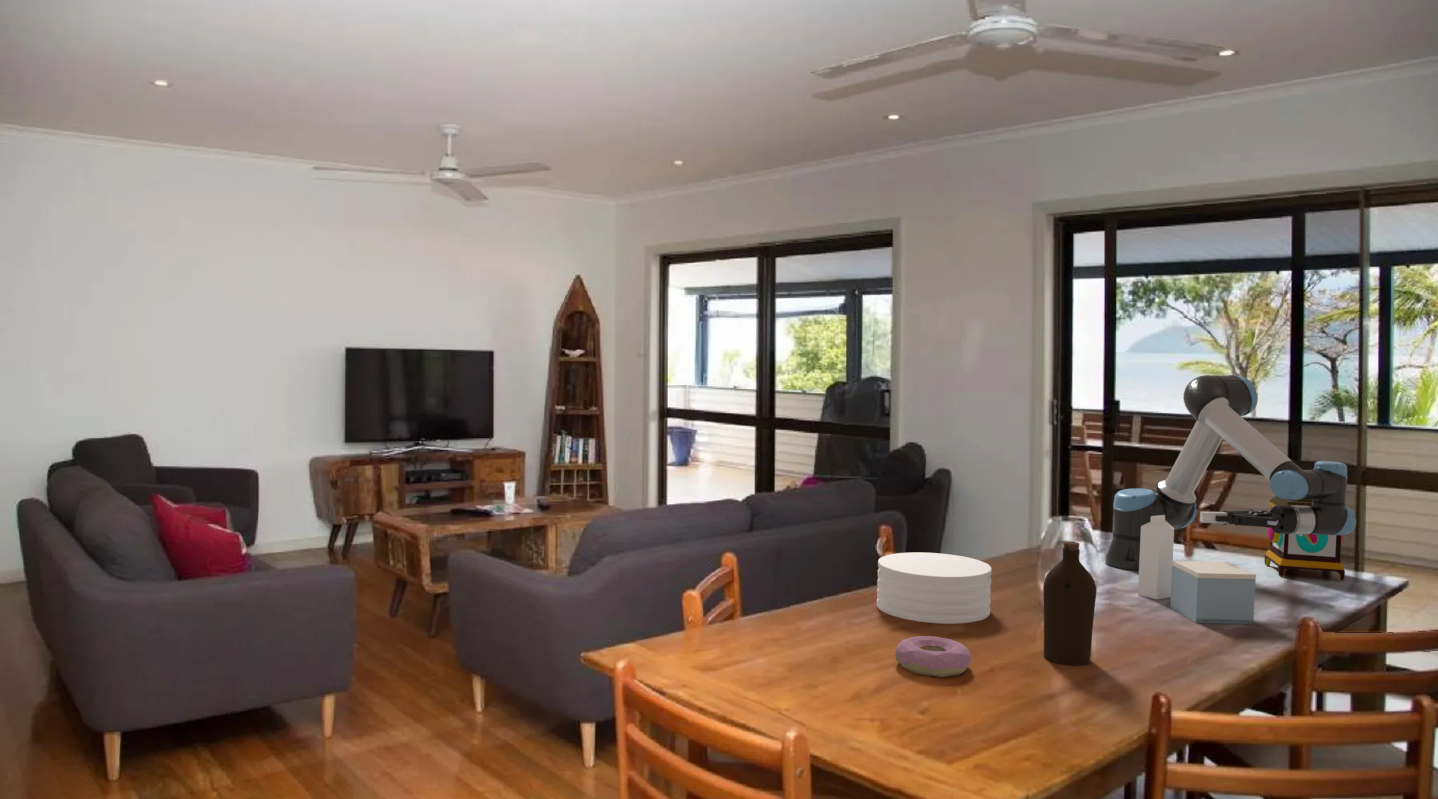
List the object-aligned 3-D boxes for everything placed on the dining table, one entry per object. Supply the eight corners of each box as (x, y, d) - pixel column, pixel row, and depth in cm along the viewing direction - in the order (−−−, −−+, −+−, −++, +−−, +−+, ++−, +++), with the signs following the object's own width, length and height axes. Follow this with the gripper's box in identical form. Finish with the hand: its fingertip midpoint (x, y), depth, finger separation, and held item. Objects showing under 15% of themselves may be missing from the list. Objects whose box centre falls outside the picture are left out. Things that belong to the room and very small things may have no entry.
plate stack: (861, 613, 244) (862, 567, 243) (896, 589, 269) (897, 548, 268) (975, 630, 231) (976, 582, 230) (1000, 604, 256) (1002, 560, 255)
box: (1224, 609, 255) (1226, 566, 254) (1253, 624, 241) (1255, 579, 240) (1170, 607, 255) (1172, 565, 255) (1195, 622, 241) (1197, 578, 241)
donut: (879, 666, 203) (880, 642, 203) (921, 651, 214) (922, 628, 214) (944, 686, 192) (945, 660, 192) (985, 669, 203) (986, 645, 203)
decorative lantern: (1329, 569, 307) (1334, 473, 305) (1351, 583, 288) (1357, 481, 286) (1258, 564, 312) (1262, 469, 311) (1275, 577, 293) (1280, 477, 291)
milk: (1137, 595, 268) (1140, 514, 267) (1152, 592, 271) (1155, 512, 270) (1157, 600, 263) (1160, 518, 262) (1171, 597, 266) (1174, 516, 265)
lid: (1226, 566, 254) (1226, 561, 254) (1255, 579, 240) (1255, 574, 240) (1172, 565, 255) (1172, 560, 255) (1197, 578, 241) (1198, 573, 241)
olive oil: (1102, 666, 206) (1107, 547, 205) (1053, 667, 205) (1058, 547, 203) (1079, 650, 216) (1083, 537, 215) (1032, 651, 215) (1036, 537, 214)
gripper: (1304, 538, 255) (1212, 536, 255) (1276, 528, 268) (1189, 526, 268) (1305, 509, 255) (1214, 507, 255) (1277, 501, 268) (1190, 499, 268)
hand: (1201, 517), depth 262 cm, fingers closed
